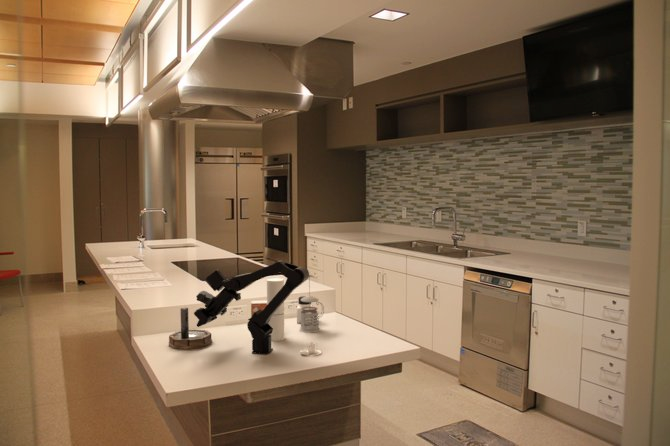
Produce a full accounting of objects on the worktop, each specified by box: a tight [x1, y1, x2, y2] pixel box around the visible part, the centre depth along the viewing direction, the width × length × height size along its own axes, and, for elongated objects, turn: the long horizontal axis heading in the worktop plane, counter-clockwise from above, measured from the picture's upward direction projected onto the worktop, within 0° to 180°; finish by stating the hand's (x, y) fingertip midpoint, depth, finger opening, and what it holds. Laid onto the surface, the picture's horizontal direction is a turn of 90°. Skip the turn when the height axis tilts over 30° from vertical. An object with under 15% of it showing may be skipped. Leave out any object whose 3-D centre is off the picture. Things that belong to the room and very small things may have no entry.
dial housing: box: [168, 328, 213, 350], centre depth 219 cm, size 17×17×4 cm
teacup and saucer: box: [299, 341, 322, 357], centre depth 206 cm, size 9×8×4 cm
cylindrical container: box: [266, 277, 285, 342], centre depth 225 cm, size 7×7×25 cm
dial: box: [174, 307, 206, 339], centre depth 219 cm, size 13×13×14 cm
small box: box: [250, 299, 267, 318], centre depth 239 cm, size 8×6×13 cm
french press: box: [298, 274, 325, 334], centre depth 240 cm, size 10×12×25 cm
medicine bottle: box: [296, 295, 314, 324], centre depth 255 cm, size 7×7×12 cm
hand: (197, 325), depth 213 cm, fingers closed
